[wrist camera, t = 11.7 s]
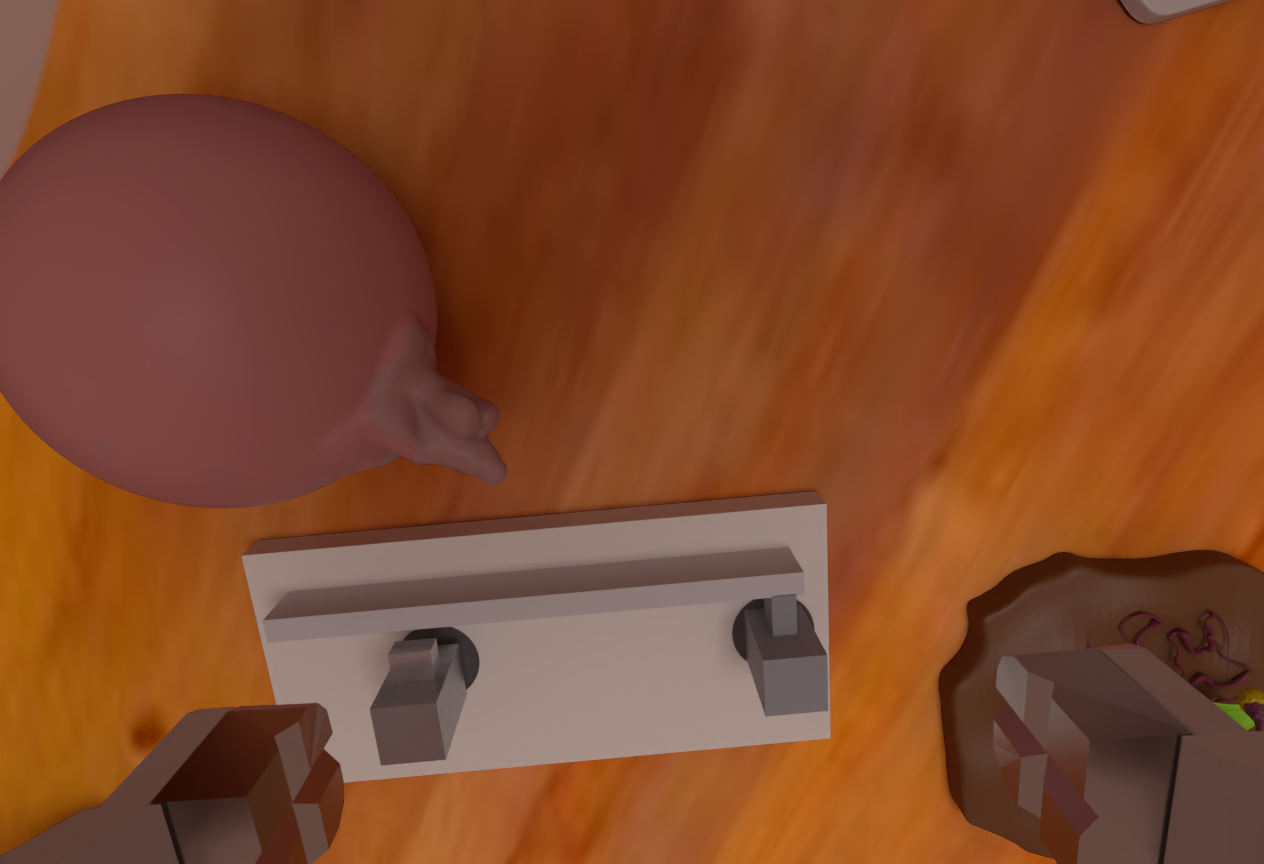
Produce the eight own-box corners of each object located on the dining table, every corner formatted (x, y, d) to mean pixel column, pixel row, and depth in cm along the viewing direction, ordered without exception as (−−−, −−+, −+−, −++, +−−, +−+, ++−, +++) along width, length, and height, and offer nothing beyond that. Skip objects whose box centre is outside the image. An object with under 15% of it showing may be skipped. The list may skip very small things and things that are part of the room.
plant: (915, 837, 46) (1011, 1022, 35) (951, 548, 41) (1075, 659, 30) (1226, 831, 46) (1415, 1011, 35) (1297, 546, 41) (1542, 653, 30)
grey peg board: (815, 491, 39) (859, 542, 32) (820, 715, 43) (860, 804, 36) (259, 540, 39) (185, 602, 32) (310, 762, 42) (253, 860, 36)
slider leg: (455, 614, 37) (431, 673, 32) (468, 690, 39) (445, 759, 33) (398, 619, 37) (363, 679, 32) (411, 695, 39) (380, 765, 33)
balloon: (448, 545, 39) (350, 728, 24) (99, 339, 36) (-261, 405, 21) (605, 307, 36) (602, 350, 22) (240, 59, 33) (-61, -92, 18)
